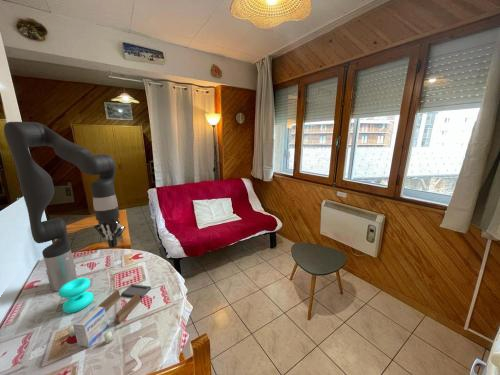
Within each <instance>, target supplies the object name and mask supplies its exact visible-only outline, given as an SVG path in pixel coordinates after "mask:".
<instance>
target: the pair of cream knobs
mask: <svg viewBox="0 0 500 375" xmlns="http://www.w3.org/2000/svg"><path fill="white" fill-rule="evenodd" d="M73 325H74V324H72V325H69V326H68V328H67V331H68V335H69V337H71V338H72V337H75V336H76V335H75V331H74V327H73ZM103 336H104V342H105V344H106V345H109V344H111V343H112V342H113V341H114V338H113V334H112V331H110V330H109V331H107V332H105V333H104V334H103Z"/></svg>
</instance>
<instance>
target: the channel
mask: <svg viewBox="0 0 500 375" xmlns="http://www.w3.org/2000/svg"><path fill="white" fill-rule="evenodd" d="M120 299H121V295H120V290H119V289H116V290H115V291H114V292H112V293H111V294H110V295H109V296H108V297H107V298H105V299H104V300H103V301H102V302H100V303H99V304H98V305H97V306H98V307H104V308H105V313H107V311H108V310H109V309H111V307H113V306H114V305H115V304H116V303H117V302H118V301H119V300H120ZM141 299H142V298H140V293H136V294H135V295H134V296H133V297H130V299H129V300H128V301H127V302H126V304H124V305H123V306H122V307H121V308H120V309H119V311H117V312H116V313H115V318H116V323H117V324H121V323H122V322H123V321H124V320H125V319H126V318H127V317H128V316H129V315H130V314H131V313H132V311H133V310H135V308H136V307H137V306H138V305H139V304H140V303H141V302H142V300H141Z"/></svg>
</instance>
